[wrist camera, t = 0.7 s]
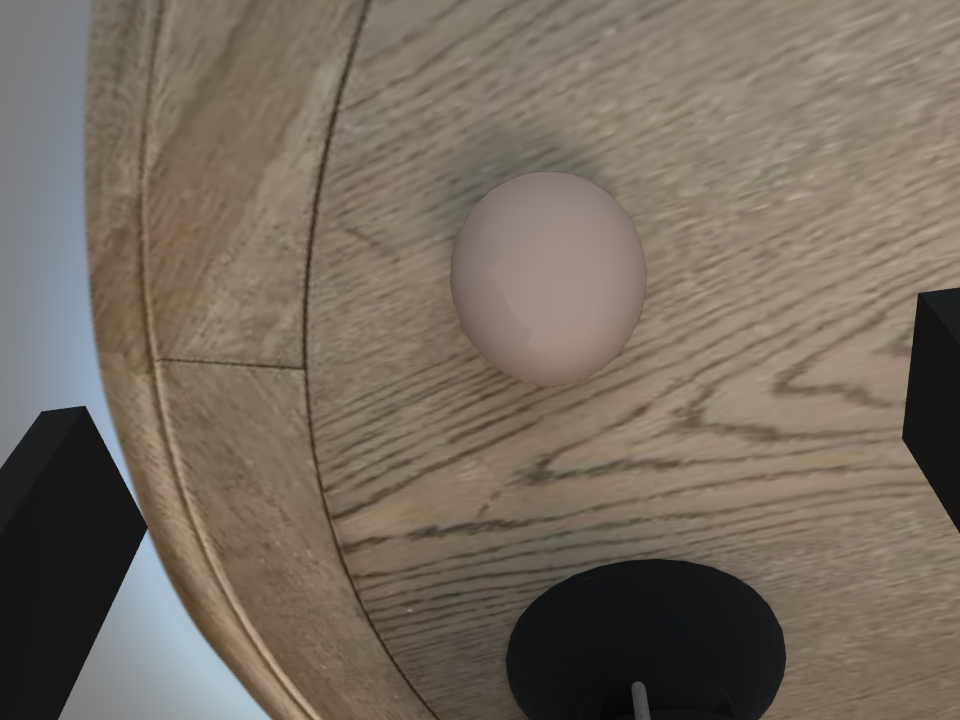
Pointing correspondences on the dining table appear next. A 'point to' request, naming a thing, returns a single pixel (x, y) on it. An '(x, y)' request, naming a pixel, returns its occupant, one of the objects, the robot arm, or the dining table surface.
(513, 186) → the egg
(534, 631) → the lantern
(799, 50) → the dining table surface
